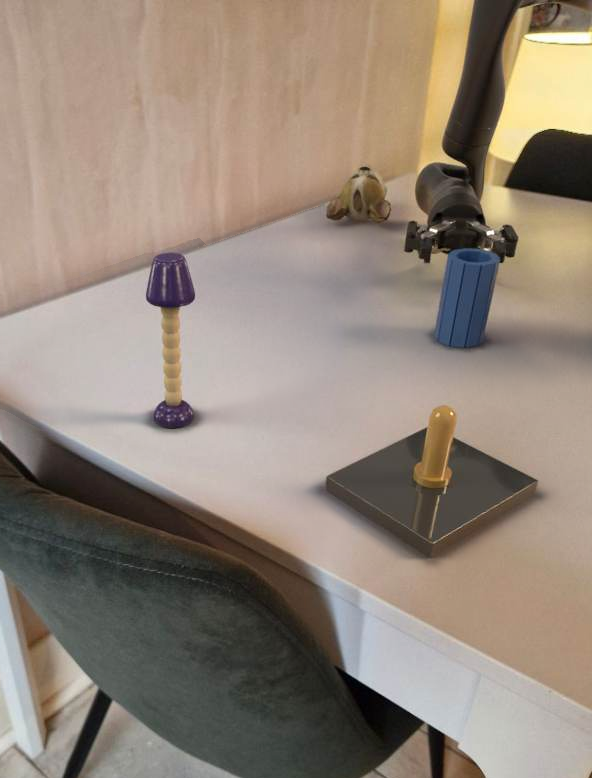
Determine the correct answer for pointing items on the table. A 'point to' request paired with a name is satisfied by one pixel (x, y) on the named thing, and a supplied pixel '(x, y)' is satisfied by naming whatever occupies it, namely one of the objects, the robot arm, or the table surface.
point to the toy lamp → (171, 332)
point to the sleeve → (466, 297)
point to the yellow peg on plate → (431, 486)
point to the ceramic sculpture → (361, 198)
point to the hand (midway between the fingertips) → (462, 257)
